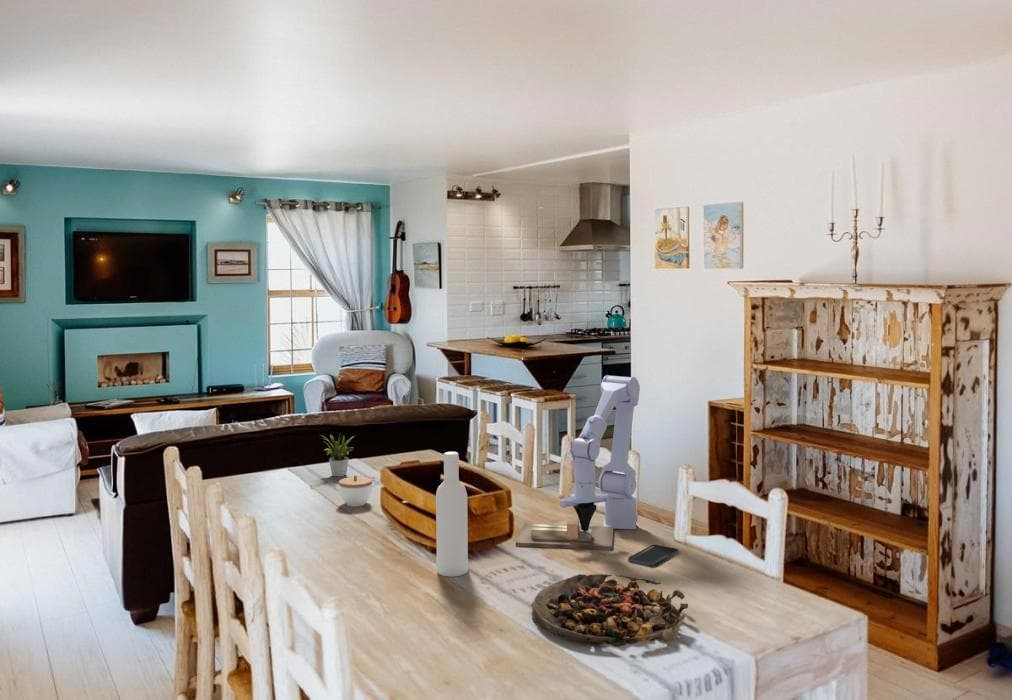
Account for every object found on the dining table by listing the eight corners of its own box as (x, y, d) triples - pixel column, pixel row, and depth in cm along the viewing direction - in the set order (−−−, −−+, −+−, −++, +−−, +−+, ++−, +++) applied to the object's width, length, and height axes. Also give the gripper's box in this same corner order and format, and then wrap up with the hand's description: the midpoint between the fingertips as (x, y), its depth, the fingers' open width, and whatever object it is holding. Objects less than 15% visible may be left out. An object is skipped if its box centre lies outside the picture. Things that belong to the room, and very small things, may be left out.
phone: (626, 558, 221) (653, 543, 233) (626, 562, 221) (653, 547, 233) (653, 564, 217) (680, 549, 228) (653, 569, 217) (680, 553, 229)
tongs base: (613, 530, 248) (613, 518, 248) (611, 550, 230) (611, 536, 230) (523, 526, 252) (523, 514, 252) (515, 546, 234) (515, 533, 234)
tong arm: (579, 534, 240) (579, 526, 240) (578, 537, 238) (578, 528, 238) (533, 532, 243) (533, 523, 242) (532, 534, 241) (532, 525, 241)
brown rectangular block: (579, 533, 241) (579, 517, 240) (577, 540, 234) (577, 524, 234) (568, 533, 241) (568, 517, 241) (566, 540, 235) (566, 523, 234)
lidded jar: (379, 502, 280) (379, 474, 279) (357, 510, 271) (356, 481, 270) (354, 498, 285) (354, 470, 284) (332, 505, 276) (331, 476, 275)
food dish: (721, 630, 182) (722, 595, 181) (603, 675, 163) (604, 636, 162) (609, 577, 210) (609, 547, 209) (497, 611, 191) (497, 577, 190)
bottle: (429, 571, 214) (428, 453, 212) (452, 563, 220) (451, 448, 217) (451, 579, 209) (450, 457, 206) (474, 571, 215) (473, 452, 212)
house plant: (309, 479, 312) (308, 434, 310) (324, 470, 325) (323, 428, 324) (347, 480, 309) (346, 435, 308) (360, 472, 323) (359, 429, 321)
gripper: (600, 475, 243) (599, 522, 244) (554, 481, 237) (554, 529, 238) (613, 481, 236) (613, 529, 237) (566, 486, 230) (566, 536, 231)
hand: (584, 529), depth 237 cm, fingers closed
